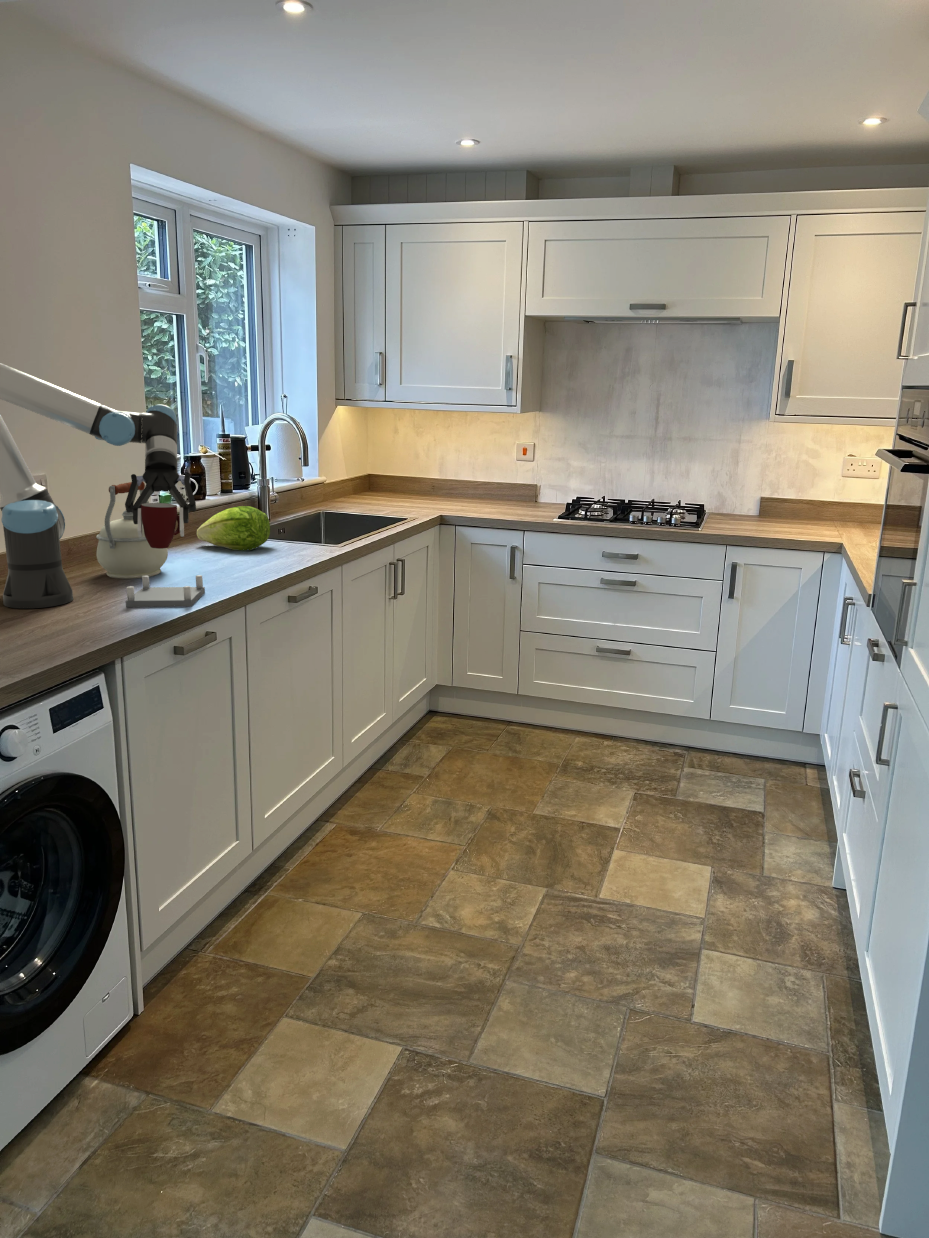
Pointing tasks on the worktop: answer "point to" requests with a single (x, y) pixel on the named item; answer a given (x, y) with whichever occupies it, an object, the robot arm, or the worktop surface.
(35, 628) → the worktop surface
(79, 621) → the worktop surface
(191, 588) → the post board
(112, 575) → the kettle
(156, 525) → the mug
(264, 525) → the lettuce
